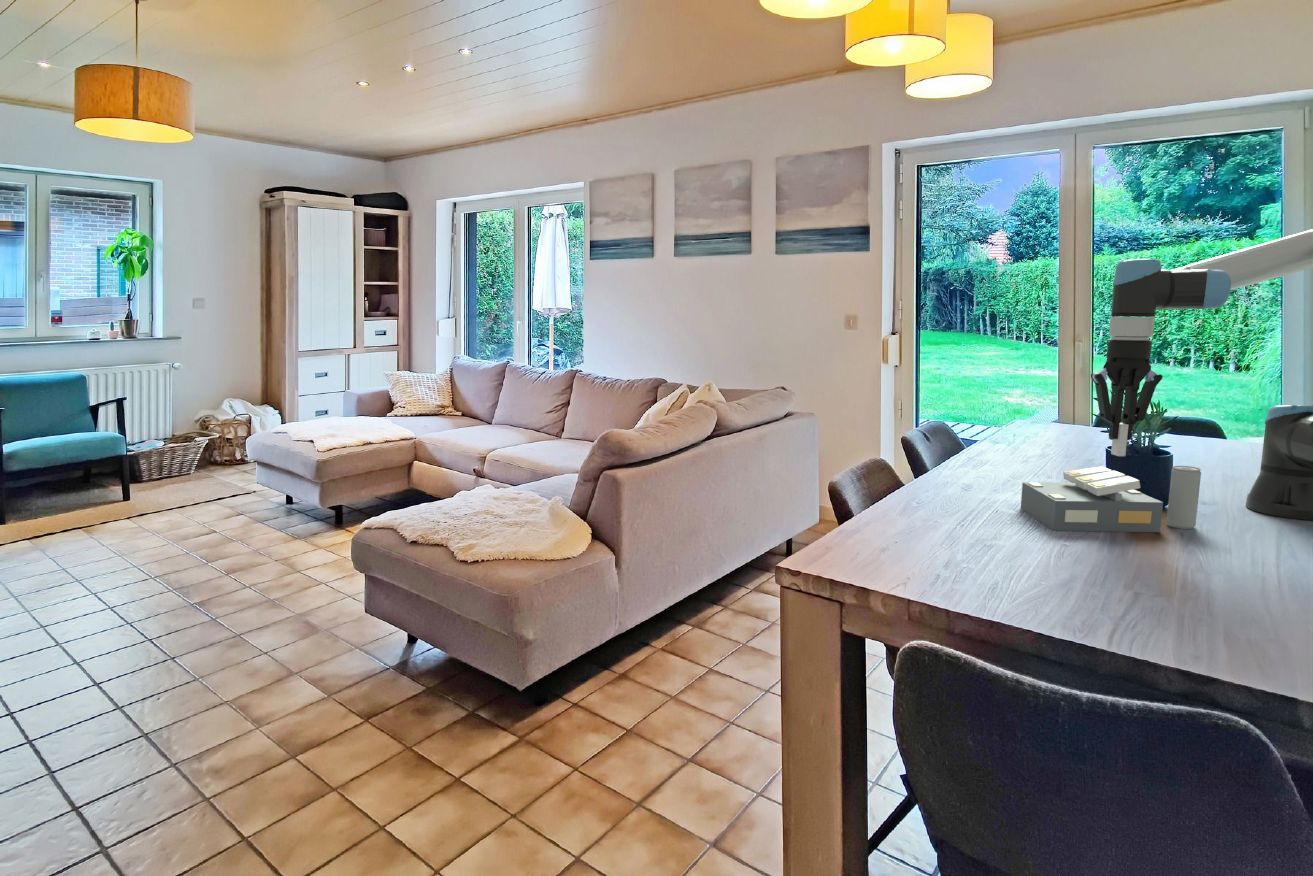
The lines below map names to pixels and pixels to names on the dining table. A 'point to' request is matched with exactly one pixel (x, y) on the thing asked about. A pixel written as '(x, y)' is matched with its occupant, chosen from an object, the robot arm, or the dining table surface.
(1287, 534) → the dining table surface
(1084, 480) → the rocker
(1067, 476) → the rocker
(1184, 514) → the beverage can
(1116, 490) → the plate
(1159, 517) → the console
